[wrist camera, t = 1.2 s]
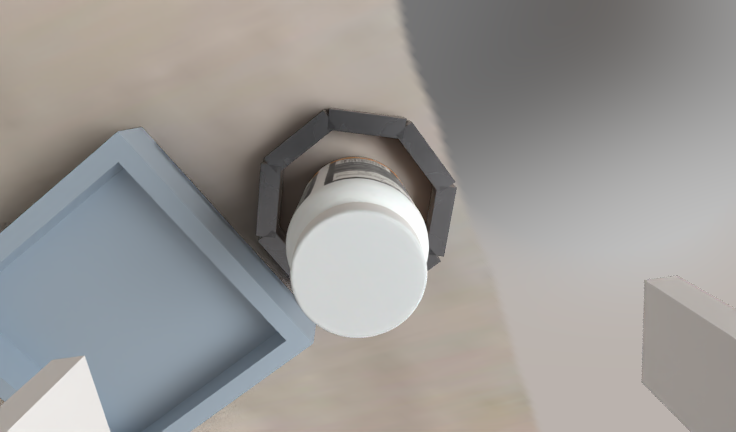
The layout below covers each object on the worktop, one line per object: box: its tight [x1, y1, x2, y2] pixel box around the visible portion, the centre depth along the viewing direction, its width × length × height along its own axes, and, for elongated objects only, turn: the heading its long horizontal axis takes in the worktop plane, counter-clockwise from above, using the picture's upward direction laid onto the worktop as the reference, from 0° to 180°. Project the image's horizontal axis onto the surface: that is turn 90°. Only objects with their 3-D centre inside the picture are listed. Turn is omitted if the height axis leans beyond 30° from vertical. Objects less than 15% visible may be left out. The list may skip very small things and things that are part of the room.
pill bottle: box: [286, 157, 429, 338], centre depth 20 cm, size 6×6×10 cm
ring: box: [256, 108, 457, 276], centre depth 24 cm, size 10×10×1 cm
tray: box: [0, 127, 316, 432], centre depth 25 cm, size 14×15×2 cm
